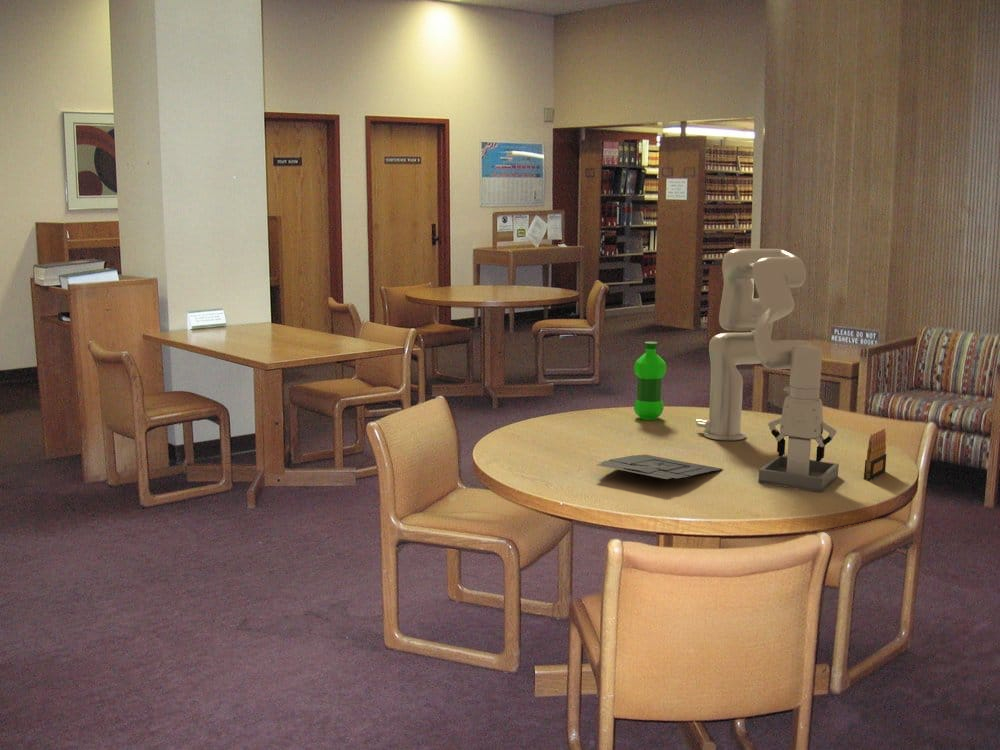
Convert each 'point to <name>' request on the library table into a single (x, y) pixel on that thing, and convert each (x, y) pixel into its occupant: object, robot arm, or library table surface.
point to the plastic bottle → (649, 383)
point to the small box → (798, 456)
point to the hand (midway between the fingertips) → (800, 458)
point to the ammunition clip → (876, 455)
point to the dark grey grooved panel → (656, 466)
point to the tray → (816, 481)
